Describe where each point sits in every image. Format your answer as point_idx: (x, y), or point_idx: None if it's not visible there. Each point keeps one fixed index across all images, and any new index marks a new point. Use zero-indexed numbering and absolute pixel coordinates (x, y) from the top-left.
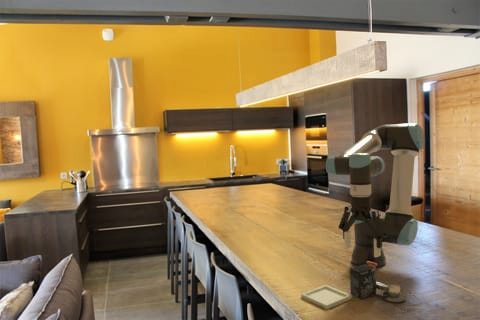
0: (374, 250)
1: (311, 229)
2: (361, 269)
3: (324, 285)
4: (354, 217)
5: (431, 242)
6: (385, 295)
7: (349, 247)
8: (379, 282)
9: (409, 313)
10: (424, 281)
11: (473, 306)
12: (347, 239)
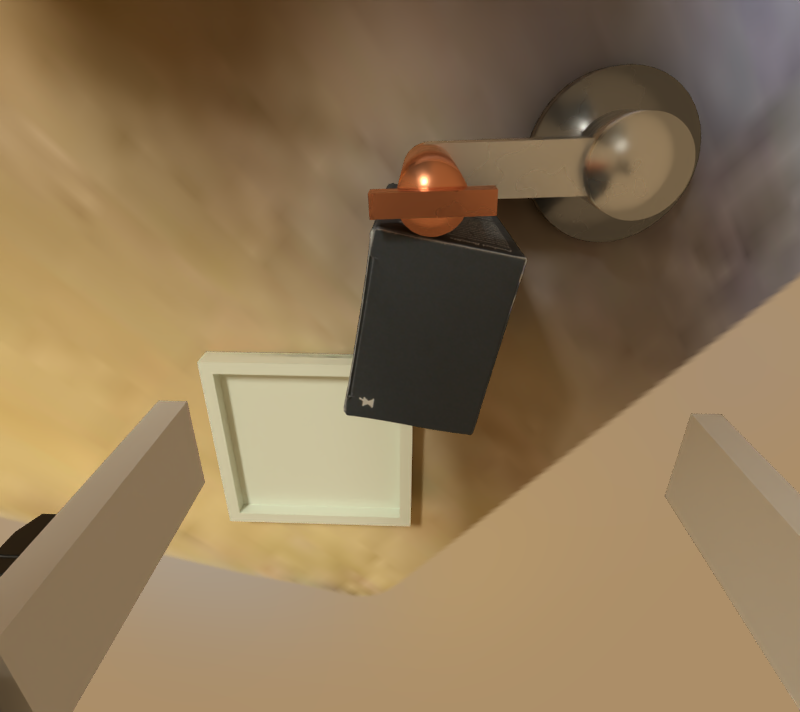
0: (717, 567)
1: None
2: (449, 387)
3: (201, 374)
4: None
5: None
6: (567, 205)
7: (190, 432)
8: (482, 142)
9: (769, 272)
10: None
11: None
12: (133, 564)
